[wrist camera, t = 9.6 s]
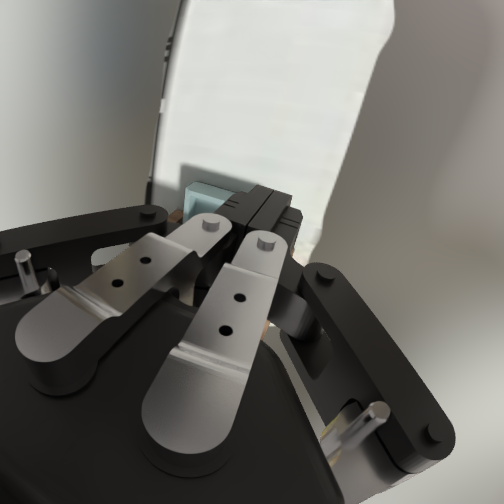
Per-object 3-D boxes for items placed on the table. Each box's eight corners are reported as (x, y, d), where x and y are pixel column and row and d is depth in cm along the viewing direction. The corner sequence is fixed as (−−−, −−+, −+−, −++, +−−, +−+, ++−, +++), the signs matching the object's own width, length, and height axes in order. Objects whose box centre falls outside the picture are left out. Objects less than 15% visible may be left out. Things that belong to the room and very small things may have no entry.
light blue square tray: (195, 181, 46) (184, 188, 44) (284, 208, 44) (278, 218, 41) (188, 246, 53) (178, 256, 50) (266, 274, 51) (260, 287, 48)
